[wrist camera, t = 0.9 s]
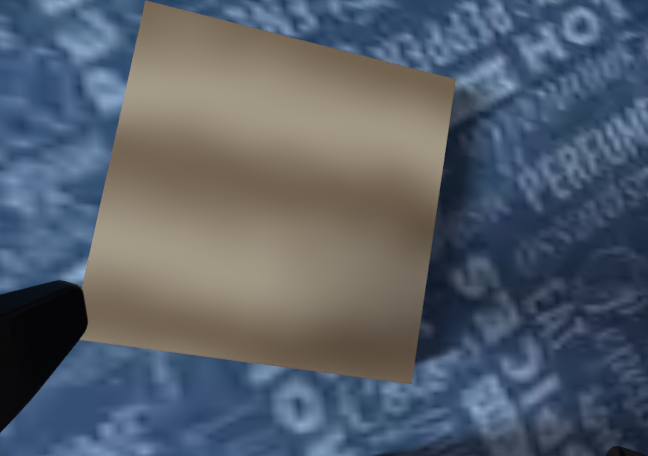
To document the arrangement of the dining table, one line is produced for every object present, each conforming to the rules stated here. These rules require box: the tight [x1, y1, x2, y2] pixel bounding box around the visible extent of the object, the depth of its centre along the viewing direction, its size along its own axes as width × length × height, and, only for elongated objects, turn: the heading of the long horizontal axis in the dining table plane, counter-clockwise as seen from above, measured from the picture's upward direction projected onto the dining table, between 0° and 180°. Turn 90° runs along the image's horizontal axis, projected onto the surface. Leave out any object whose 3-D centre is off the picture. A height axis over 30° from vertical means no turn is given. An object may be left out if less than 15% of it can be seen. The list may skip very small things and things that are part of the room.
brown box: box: [80, 1, 456, 384], centre depth 21 cm, size 14×14×3 cm
